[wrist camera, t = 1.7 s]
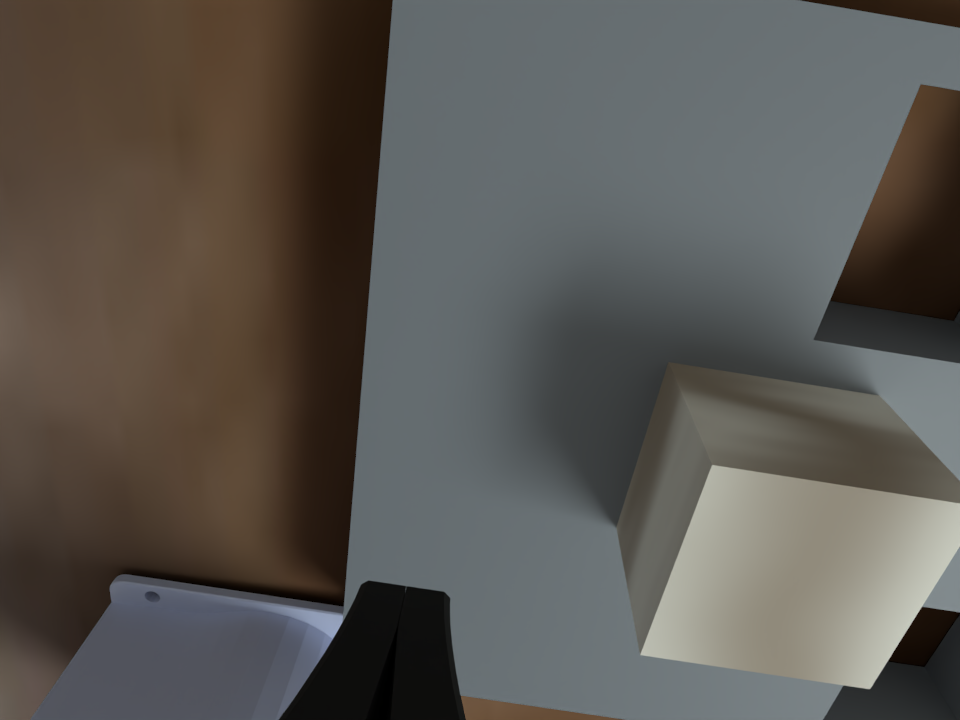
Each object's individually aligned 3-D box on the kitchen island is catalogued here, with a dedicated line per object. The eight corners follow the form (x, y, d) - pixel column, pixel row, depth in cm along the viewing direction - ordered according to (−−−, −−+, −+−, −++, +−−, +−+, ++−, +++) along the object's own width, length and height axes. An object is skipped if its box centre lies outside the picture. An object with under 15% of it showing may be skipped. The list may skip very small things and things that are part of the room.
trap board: (358, 603, 24) (338, 677, 21) (420, -55, 15) (398, -69, 12) (1127, 717, 25) (1201, 804, 22) (1644, 156, 15) (1881, 186, 13)
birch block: (616, 528, 18) (640, 655, 14) (668, 361, 16) (712, 464, 12) (800, 556, 18) (870, 689, 15) (879, 395, 16) (984, 507, 12)
